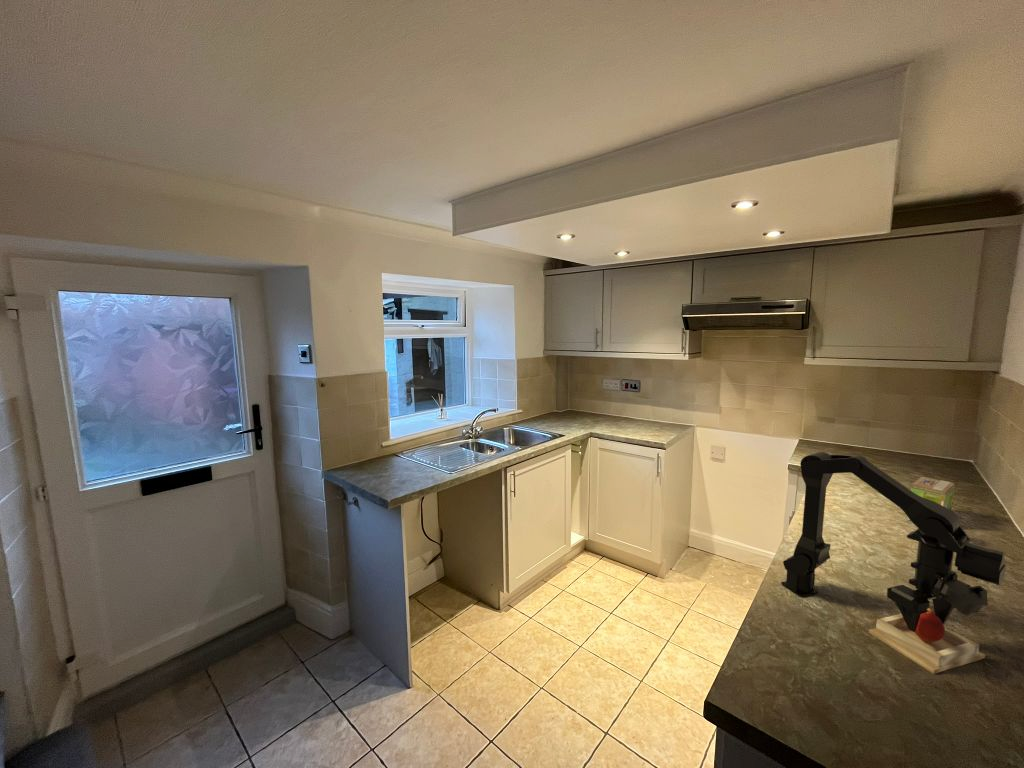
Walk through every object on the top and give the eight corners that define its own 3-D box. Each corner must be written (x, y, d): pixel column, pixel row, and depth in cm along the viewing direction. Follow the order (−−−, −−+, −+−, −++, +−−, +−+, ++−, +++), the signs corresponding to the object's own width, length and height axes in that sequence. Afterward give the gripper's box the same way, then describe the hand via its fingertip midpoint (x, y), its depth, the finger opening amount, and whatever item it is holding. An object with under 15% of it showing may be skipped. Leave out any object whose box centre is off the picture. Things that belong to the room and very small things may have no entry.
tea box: (942, 530, 156) (947, 490, 154) (905, 520, 164) (909, 483, 162) (951, 519, 165) (955, 482, 163) (915, 510, 173) (919, 475, 171)
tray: (933, 673, 91) (935, 659, 91) (868, 632, 104) (870, 620, 103) (984, 658, 95) (986, 644, 95) (916, 620, 108) (917, 608, 107)
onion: (923, 633, 102) (929, 601, 102) (949, 650, 97) (955, 617, 96) (900, 632, 102) (906, 600, 101) (924, 649, 96) (931, 616, 96)
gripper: (949, 590, 87) (940, 661, 89) (1010, 576, 92) (1000, 643, 94) (888, 562, 98) (881, 625, 99) (946, 550, 102) (938, 611, 104)
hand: (926, 626), depth 99 cm, fingers open, 9 cm apart
